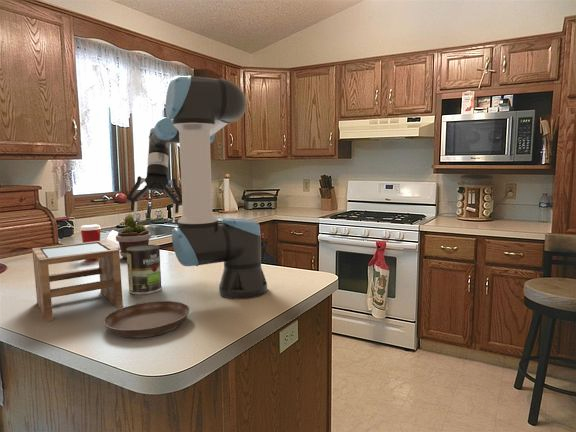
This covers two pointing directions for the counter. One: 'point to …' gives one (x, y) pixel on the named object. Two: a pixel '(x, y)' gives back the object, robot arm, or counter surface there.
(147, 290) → the coffee can
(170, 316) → the plant saucer
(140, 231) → the flowerpot
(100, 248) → the lid
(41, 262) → the wooden stand
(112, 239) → the crystal
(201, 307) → the counter surface
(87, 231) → the coffee cup
